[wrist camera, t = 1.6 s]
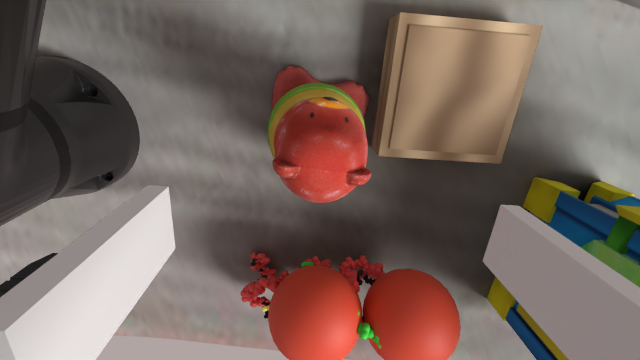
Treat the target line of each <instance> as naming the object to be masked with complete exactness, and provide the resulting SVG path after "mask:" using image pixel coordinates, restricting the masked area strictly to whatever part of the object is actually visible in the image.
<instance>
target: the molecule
mask: <svg viewBox="0 0 640 360" xmlns="http://www.w3.org/2000/svg"><path fill="white" fill-rule="evenodd" d="M251 258H252V259H251V269H252V270H258V271H259V273H260V274H261V275H262V276H263V277H265V278H263V277H262V278H260V279H257V280H258V281H257V282H255V283H256V284H255V283H254V282H250V283H249V284H248V285H247V286H246V287H244V288H243V290H242V291H241V296H242V301H243V302H247V301H248V302H251V303H250V305H251V306H252V307H255V306H256V305H258V306H262V305H263V306H262V311H263V312H265V313H266V314H265V316H264V318H268V321H269V327H270V332H271V334H272V337H273V340H274V342H275V344H276V346H277V347H278V349H279V350H280V351H281V352H282V354H283V355H284V356H285V357H286V358H288V359H289V360H341V359H343V358H344V357H345V356H346V355H347V354H348V353H349V352H350V351H351V349H352V348H353V347H354V345H355V343H356V341H357V339H358V336H360V338H361V339H366V338H368V339H369V341H370V343H371V345H372V346H373V348H374V349H375V350H376V352H377V353H378V354H379V355H380V356H381V357H382V358H383V359H385V360H447V359H448V358H449V357H450V356H451V355H452V353H453V352H454V350H455V348H456V345H457V343H458V340H459V336H460V328H461V327H460V320H459V313H458V310H457V307H456V304H455V301H454V300H453V298H452V296H451V295H450V293H449V291H448V290H447V289H446V288H445V287H444V286H443V285H442V284H441V283H440V282H439V281H438V280H436V279H435V278H434V277H432V276H431V275H429V274H426V273H424V272H421V271H417V270H413V269H396V270H393V271H390V272H388V273H384V272H383V269H382V268H383V264H382V263H377V264H369V262H368V260H367V259H366V257H365V256H364V255H362V256H360V260H359V259H356V260H355V261H353V260H352V258H351V257H346V259H345V262H342V263H341V266H340V267H339V270H340V272H338V271H336V270H334V269H332V268H330V261H329V260H327V259H326V260H325V261H319V258H318V257H317V256H314V257H313V258H312V259H307V260H306V261H304V262H303V263H302V264H301V267H302V268H299V269H297V270H295V271H293V272H292V273H290V274H289V273H288V272H287V271H283V273H282V274H281V275H279V276H277V277H276V276H275V275H274V274H275V273H276V270H275V269H269V268H268V267H266V268H265V267H263V266H265V264H268V263H269V262H270V259H269V258H268V257H266V255H265V254H263V253H258V255H257V254H256V253H252V254H251ZM358 267H362V269H359V270H358V271H355V269H357V268H358ZM351 269H352V271H351ZM267 276H268V277H269V280H268V279H266V278H268V277H267ZM368 276H371V277H374V280H372V278H370V279H368ZM362 278H363V279H364V280H365V283H367V284H368V283H370V285H371V287H370V288H369V290H368V292H367V295H366V297H365V300H364V304H363V317H362V307H361V303H360V299H359V295H358V292H359V291H360V287H359V285H362V280H361V279H362ZM265 288H268V289H270V290H271V291H272V292H274V294H273V297H272V299H271V302H270V301H269V300H268V299H266V297H261V298H260V297H258V295H260V294H263V293H264V292H265ZM362 323H363V324H362Z"/></svg>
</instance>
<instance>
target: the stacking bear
mask: <svg viewBox="0 0 640 360" xmlns="http://www.w3.org/2000/svg"><path fill="white" fill-rule="evenodd" d="M368 103H369V96H368V94H367V93H366V92H365V88H364V86H363V85H361V84H356V83H355V82H354V81H346V82H343V83H339V84H325V83H322V82H319V81H317V80H316V79H314V78H313V77H312V76H311V75H310V74H309V73H308V71H306V70H305V69H304V68H302V67H294V66H292V65H290V66H288V67H287V68H286V69H285V70H281V71H280V72H279V73H278V75H277V77H276V80H275V84H274V88H273V95H272V113H271V115H270V119H269V123H268V142H269V146H270V150H271V152H272V155H273V157H274V158H275V159H274V160H273V168H274V170H275V172H276V173H277V174H278V175H279V176H280V177H281V179H282V181H283V182H284V184H285V185H286V186H287V187H288V188H289V189H290V190H291V191H292V192H294V193H295V194H296V195H298V196H299V197H301V198H303V199H305V200H308V201H311V202H317V203H325V202H331V201H335V200H338V199H340V198H342V197H344V196H345V195H347V194H348V193H350V192H351V191H352V190H353V189H354V188H355V187H356V186H357V185H363V184H365V183H366V182H367V181H368V180H369V179H370V177H371V172H370V171H369V170H368V169H366V163H367V156H368V144H367V138H366V131H365V124H364V117H365V115H366V111H367V108H368Z"/></svg>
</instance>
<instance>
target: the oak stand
mask: <svg viewBox="0 0 640 360" xmlns="http://www.w3.org/2000/svg"><path fill="white" fill-rule="evenodd" d="M542 27H543V26H541V25H531V24H520V23H510V22H499V21H488V20H478V19H467V18H456V17H446V16H435V15H424V14H414V13H403V12H400V13H398V14H396V15H394V16H393V17H391V18H390V19H389V26H388V33H387V40H386V47H385V54H384V61H383V68H382V75H381V82H380V89H379V97H378V104H377V111H376V118H375V125H374V132H373V139H372V146H371V147H372V148H373V149H374V151H375V152H376V153H377V155H378V156H385V157H401V158H417V159H433V160H449V161H464V162H480V163H496V164H501V161H502V158H503V155H504V151H505V148H506V145H507V141H508V138H509V135H510V132H511V128H512V125H513V122H514V119H515V115H516V112H517V109H518V105H519V102H520V99H521V96H522V92H523V89H524V86H525V83H526V79H527V76H528V73H529V69H530V66H531V63H532V60H533V56H534V53H535V50H536V47H537V43H538V40H539V37H540V33H541V30H542Z"/></svg>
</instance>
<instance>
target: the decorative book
mask: <svg viewBox="0 0 640 360" xmlns="http://www.w3.org/2000/svg"><path fill="white" fill-rule="evenodd" d="M579 194H580V191H578V190H576V189H574V188H572V187H569V186H567V185H565V184H563V183H561V182H557V181H552V180H547V179H542V178H537V177H534V179H533V181H532V184H531V186H530V189H529V192H528V194H527V197H526V199H525V202H524V204H523V207H524V208H526V209H527V210H529V211H530V214H532V215H533V216H535V217H536V218H538V219H539V220H541V221H542V222H544V223H545V224H547V225H548V226H550V227H551V228H552V229H554V230H555V231H557V232H558V233H560V234H561V235H563V236H564V237H566V238H567V239H569V240H570V241H572V242H573V243H575V244H576V245H578V246H579V247H581V248H582V249H583V250H585V251H586V252H588V253H589V254H591V255H592V256H594V257H595V258H597V259H598V260H600V261H601V262H603V263H604V264H606V265H607V266H609V267H610V268H612V269H613V270H614V271H616V272H617V273H619V274H620V275H622V276H623V277H625V278H626V279H628V280H629V281H631V282H632V283H634V284H635V285H637V286H638V287H640V200H639V199H637V198H635V197H633V196H634V195H635V194H632V193H630V192H627V191H625V190H622V189H620V188H617V187H615V186H612V185H610V184H607V183H605V182H602V181H600V182H595V183H592V185H591V187H590V189H589V191H588V193H587V195H586V198H585V200H584V202H583V201H581V200H579V199H578V196H579ZM487 299H488V300H489V302H490V303H491V304H492V306H493V307H494V308H495V310H496V311H497V312H498V314H499V315H500V316H501V318H502V319H503V320H504V321H507V322H508V323H509V324H510V326H511V327H512V328H513V329H514V331H515V332H516V333H517V335H518V336H519V337H520V339H521V340H522V341H523V342H524V344H525V345H526V346H527V348H528V349H529V350H530V351H531V353H532V354H533V355H534V357H535V358H536V359H537V360H569V359H568V358H567V357H566V356H565V355H564V354H563V352H562V351H561V350H560V349H559V348H558V347H557V346H556V344H555V343H554V342H553V341H552V340H551V339H550V338H549V337H548V335H547V334H546V333H545V332H544V331H543V330H542V329H541V327H540V326H539V325H538V324H537V323H536V322H535V321H534V319H533V318H532V317H531V316H530V315H529V314H528V313H527V311H526V310H525V309H524V308H523V307H522V306H521V305H520V304H519V302H518V301H517V300H516V299H515V298H514V297H513V296H512V294H511V293H510V292H509V291H508V290H507V289H506V288H505V286H504V285H503V284H502V283H501V282H500V281H499V280H498V278H497V277H496V276H495V279H494V281H493V284H492V286H491V289H490V291H489V294H488V297H487Z"/></svg>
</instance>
